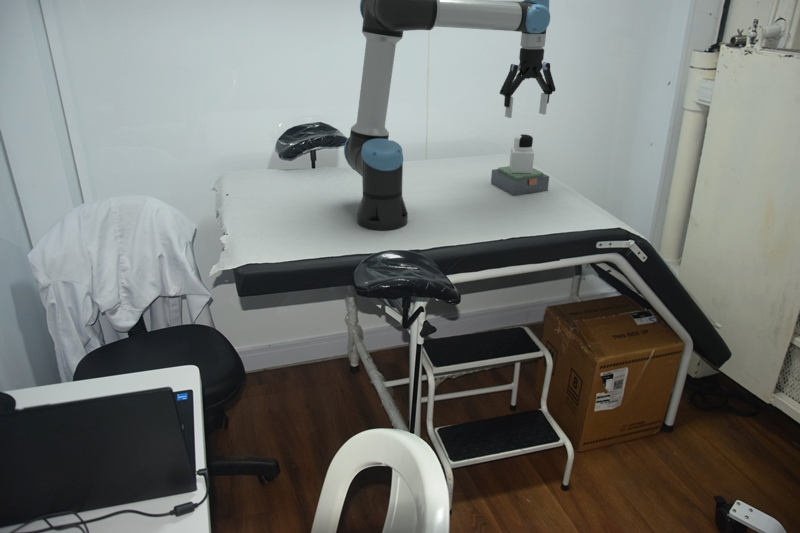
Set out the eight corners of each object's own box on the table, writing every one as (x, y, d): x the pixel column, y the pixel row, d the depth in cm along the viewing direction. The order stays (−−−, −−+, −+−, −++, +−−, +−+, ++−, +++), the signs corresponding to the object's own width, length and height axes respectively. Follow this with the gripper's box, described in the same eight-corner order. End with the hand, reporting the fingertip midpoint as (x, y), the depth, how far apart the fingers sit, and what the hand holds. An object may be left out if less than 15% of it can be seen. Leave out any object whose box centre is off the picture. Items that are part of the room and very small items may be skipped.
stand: (514, 196, 204) (516, 179, 202) (490, 183, 216) (492, 167, 214) (548, 190, 210) (550, 174, 207) (523, 178, 222) (525, 162, 219)
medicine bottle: (530, 167, 213) (533, 133, 208) (532, 173, 207) (536, 138, 202) (509, 166, 214) (512, 132, 209) (510, 173, 208) (514, 138, 202)
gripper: (505, 50, 185) (499, 121, 195) (571, 47, 195) (563, 114, 204) (492, 47, 191) (487, 116, 201) (557, 44, 201) (549, 110, 210)
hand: (525, 115), depth 202 cm, fingers open, 13 cm apart
